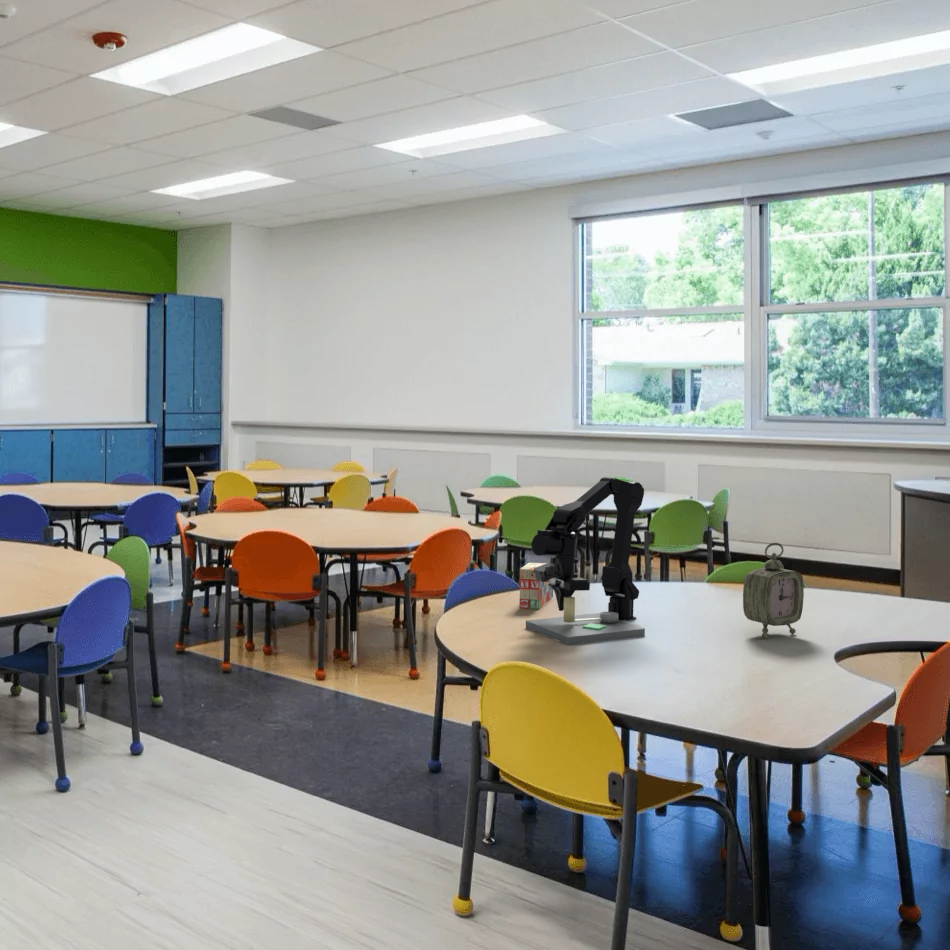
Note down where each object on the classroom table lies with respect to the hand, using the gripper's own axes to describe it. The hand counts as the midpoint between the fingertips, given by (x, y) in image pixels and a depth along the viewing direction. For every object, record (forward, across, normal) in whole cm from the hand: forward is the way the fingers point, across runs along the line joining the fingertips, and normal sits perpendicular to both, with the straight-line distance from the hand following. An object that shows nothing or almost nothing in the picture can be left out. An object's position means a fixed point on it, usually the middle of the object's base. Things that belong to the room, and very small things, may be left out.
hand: (561, 610), depth 280 cm
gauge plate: (+5, +5, +5) cm, 9 cm away
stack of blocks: (+5, -36, +12) cm, 38 cm away
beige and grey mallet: (+2, +5, +7) cm, 9 cm away
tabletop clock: (+2, +28, +49) cm, 57 cm away
